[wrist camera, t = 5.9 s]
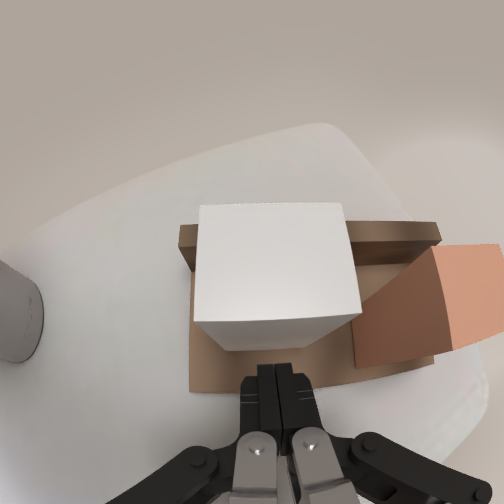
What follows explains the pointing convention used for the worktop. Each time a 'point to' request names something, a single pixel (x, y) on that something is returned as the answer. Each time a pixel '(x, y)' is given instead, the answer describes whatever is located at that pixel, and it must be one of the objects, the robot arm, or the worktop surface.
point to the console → (331, 345)
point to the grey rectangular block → (273, 274)
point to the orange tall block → (433, 306)
